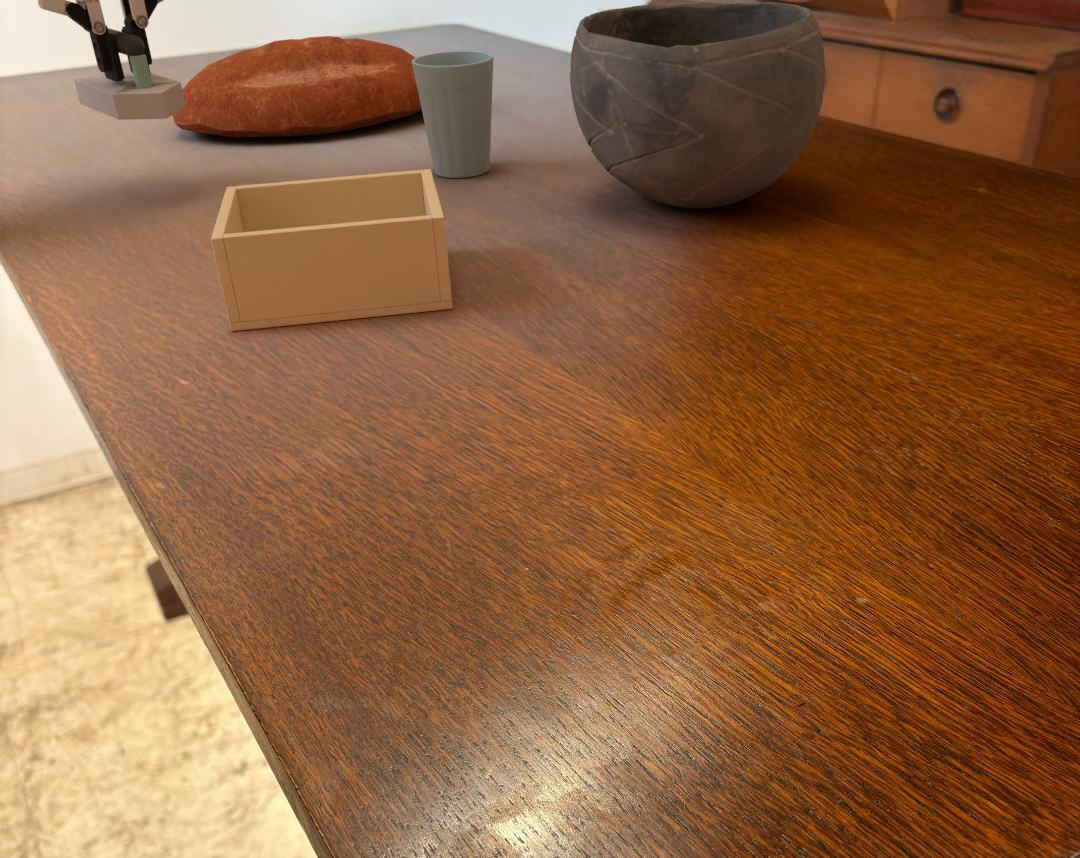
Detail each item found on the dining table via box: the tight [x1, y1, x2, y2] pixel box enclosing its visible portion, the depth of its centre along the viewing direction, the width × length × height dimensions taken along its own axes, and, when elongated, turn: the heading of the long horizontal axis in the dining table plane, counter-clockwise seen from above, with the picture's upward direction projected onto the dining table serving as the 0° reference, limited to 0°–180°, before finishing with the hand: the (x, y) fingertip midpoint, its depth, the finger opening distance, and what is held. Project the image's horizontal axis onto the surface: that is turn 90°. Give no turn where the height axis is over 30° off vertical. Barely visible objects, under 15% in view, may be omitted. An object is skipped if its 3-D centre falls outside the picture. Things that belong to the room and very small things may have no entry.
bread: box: [171, 35, 422, 138], centre depth 127 cm, size 23×32×9 cm
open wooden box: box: [210, 168, 454, 332], centre depth 80 cm, size 16×13×7 cm
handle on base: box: [73, 27, 186, 121], centre depth 100 cm, size 13×6×6 cm, turn 39°
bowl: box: [569, 1, 826, 210], centre depth 92 cm, size 21×21×15 cm
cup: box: [412, 50, 494, 179], centre depth 105 cm, size 8×8×10 cm
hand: (128, 75), depth 100 cm, fingers closed on handle on base
